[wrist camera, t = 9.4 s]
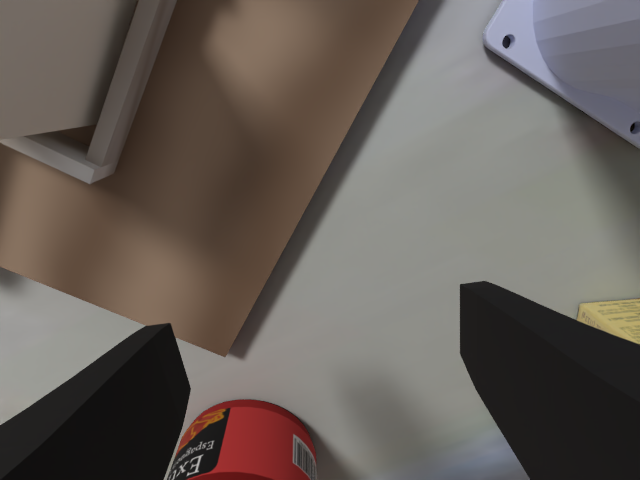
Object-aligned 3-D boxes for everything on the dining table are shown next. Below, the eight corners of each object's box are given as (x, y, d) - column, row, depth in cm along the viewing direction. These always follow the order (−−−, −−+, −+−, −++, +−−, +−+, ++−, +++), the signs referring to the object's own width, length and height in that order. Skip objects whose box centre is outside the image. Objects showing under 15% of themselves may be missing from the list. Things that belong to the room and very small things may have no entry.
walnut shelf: (543, -239, 13) (622, -347, 10) (228, 345, 21) (215, 392, 18) (96, -631, 10) (-2, -970, 7) (-82, 218, 18) (-168, 247, 15)
